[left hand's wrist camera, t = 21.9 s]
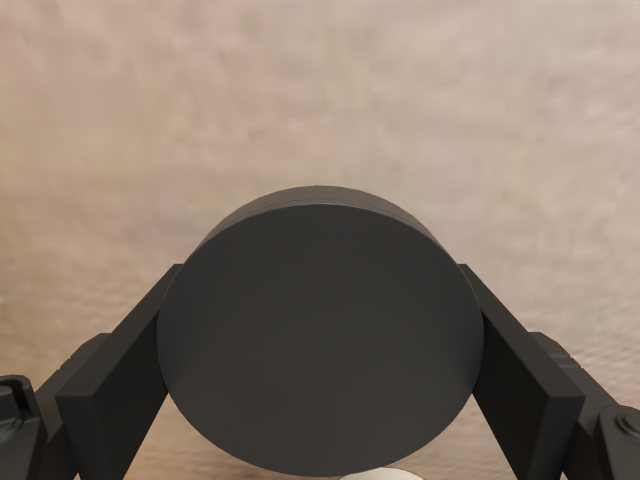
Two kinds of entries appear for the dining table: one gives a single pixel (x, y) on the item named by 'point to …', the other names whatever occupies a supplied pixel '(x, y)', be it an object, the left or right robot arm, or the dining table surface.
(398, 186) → the dining table surface
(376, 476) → the jar
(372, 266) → the lid
